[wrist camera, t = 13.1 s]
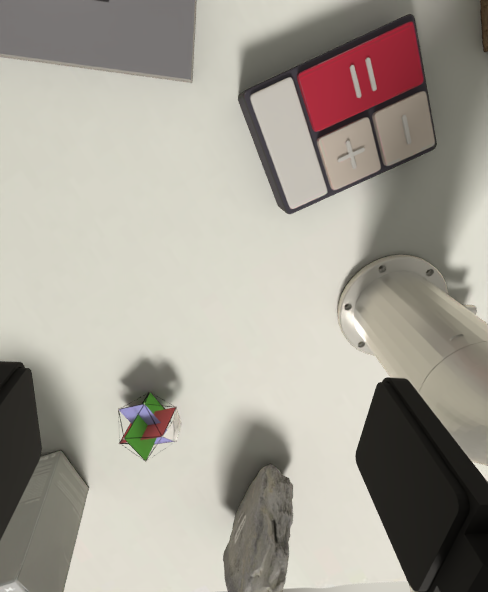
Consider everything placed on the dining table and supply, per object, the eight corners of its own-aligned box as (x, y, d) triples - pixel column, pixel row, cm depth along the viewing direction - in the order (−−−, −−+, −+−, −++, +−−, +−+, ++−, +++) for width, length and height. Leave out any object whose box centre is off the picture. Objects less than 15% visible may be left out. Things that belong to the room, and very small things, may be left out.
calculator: (443, 148, 35) (289, 218, 35) (417, 146, 39) (278, 209, 39) (419, 8, 30) (242, 91, 31) (392, 22, 34) (235, 95, 35)
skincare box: (16, 461, 50) (-61, 600, 35) (68, 446, 49) (13, 580, 35) (47, 502, 53) (-11, 644, 39) (96, 489, 53) (56, 627, 39)
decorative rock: (253, 535, 60) (267, 656, 46) (213, 527, 58) (215, 651, 45) (298, 461, 54) (329, 576, 41) (255, 451, 53) (272, 567, 39)
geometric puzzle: (129, 454, 48) (155, 482, 42) (94, 419, 45) (117, 443, 39) (170, 411, 51) (201, 431, 45) (140, 376, 48) (169, 392, 42)
